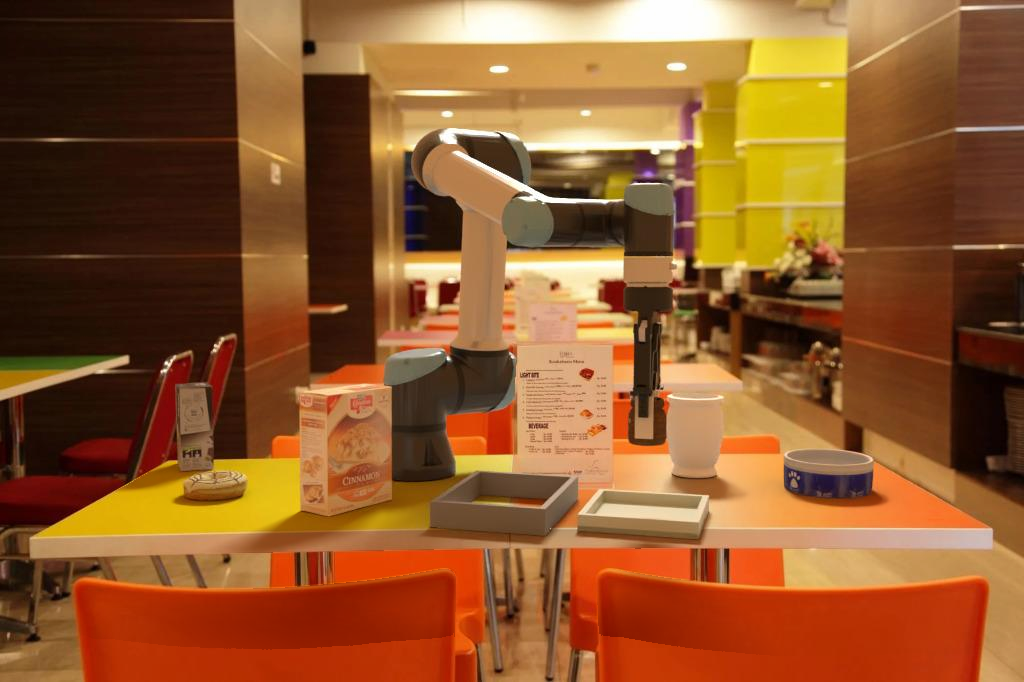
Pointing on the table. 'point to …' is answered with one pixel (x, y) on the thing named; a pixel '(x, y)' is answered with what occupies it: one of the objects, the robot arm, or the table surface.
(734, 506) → the table surface
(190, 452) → the coffee box
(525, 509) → the bottomless rectangular frame
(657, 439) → the brown container
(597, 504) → the tray
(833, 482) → the dog bowl
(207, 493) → the decorated donut
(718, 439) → the jar
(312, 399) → the coffeecake box
